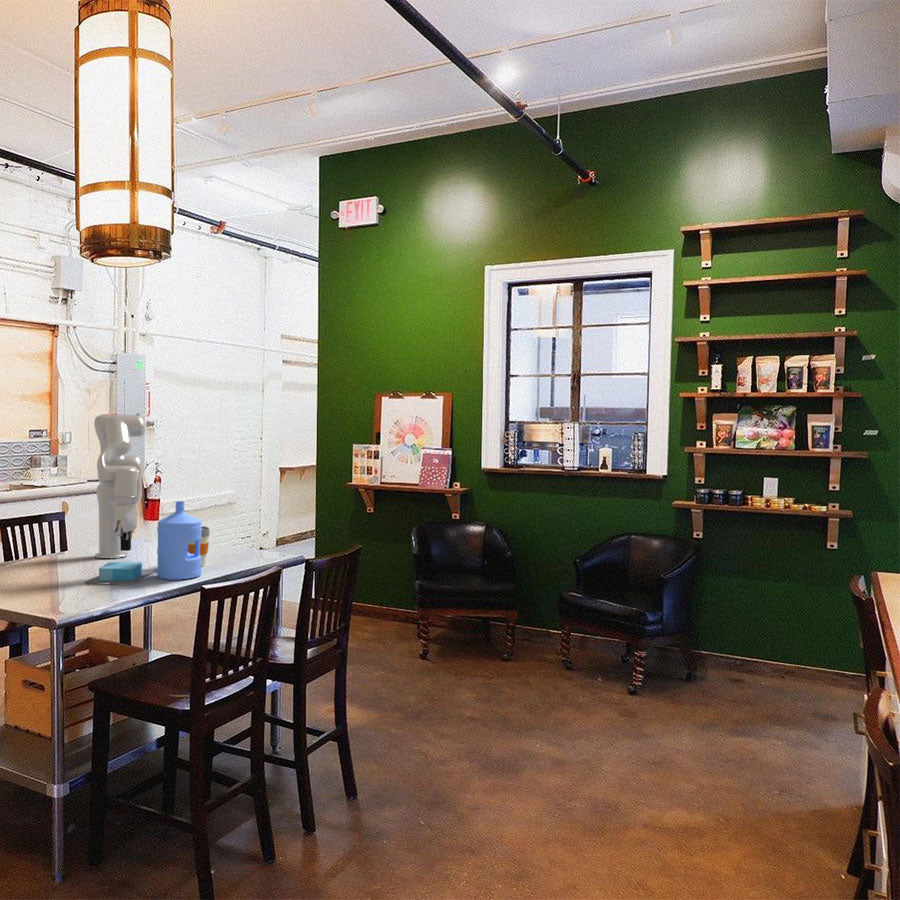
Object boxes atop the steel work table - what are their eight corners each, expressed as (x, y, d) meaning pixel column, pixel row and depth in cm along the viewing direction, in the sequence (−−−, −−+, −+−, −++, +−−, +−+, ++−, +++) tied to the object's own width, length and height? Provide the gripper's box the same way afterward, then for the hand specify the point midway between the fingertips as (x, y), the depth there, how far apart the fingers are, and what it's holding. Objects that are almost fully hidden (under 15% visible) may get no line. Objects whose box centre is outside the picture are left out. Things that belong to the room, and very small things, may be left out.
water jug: (154, 581, 276) (155, 504, 275) (159, 572, 291) (159, 499, 290) (200, 580, 280) (201, 504, 279) (202, 571, 295) (202, 499, 294)
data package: (109, 573, 283) (97, 580, 271) (109, 561, 283) (97, 568, 271) (143, 574, 284) (132, 581, 272) (143, 562, 284) (132, 568, 272)
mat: (116, 570, 292) (116, 568, 292) (156, 572, 291) (156, 570, 291) (85, 583, 270) (84, 581, 270) (128, 585, 269) (128, 582, 269)
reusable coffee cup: (203, 569, 299) (203, 531, 299) (171, 568, 300) (171, 530, 299) (213, 563, 312) (214, 526, 311) (183, 562, 312) (183, 525, 311)
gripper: (125, 498, 290) (125, 546, 291) (105, 502, 275) (105, 553, 276) (145, 499, 289) (144, 547, 290) (126, 503, 274) (125, 554, 275)
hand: (125, 550), depth 283 cm, fingers closed
